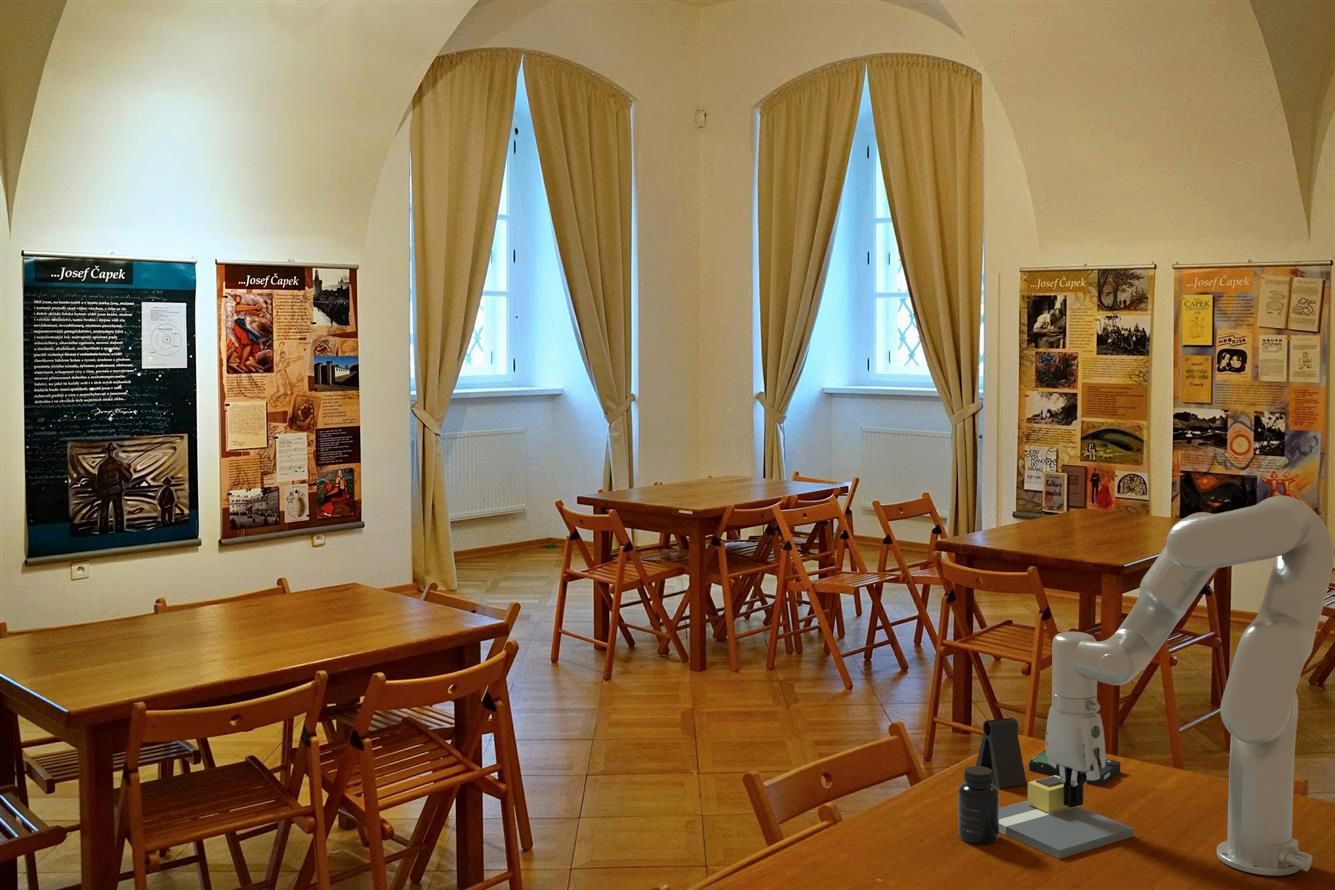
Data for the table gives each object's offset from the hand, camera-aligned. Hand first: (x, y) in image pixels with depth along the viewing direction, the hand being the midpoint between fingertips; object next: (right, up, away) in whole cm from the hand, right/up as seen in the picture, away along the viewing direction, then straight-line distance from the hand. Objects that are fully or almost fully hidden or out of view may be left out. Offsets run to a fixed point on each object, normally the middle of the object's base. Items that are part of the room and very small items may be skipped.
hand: (1073, 804), depth 224 cm
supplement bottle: (-18, -4, -6) cm, 20 cm away
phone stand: (-7, -2, +22) cm, 23 cm away
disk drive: (+9, -2, +27) cm, 28 cm away
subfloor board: (-4, -4, -3) cm, 6 cm away
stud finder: (-2, -1, +4) cm, 5 cm away
